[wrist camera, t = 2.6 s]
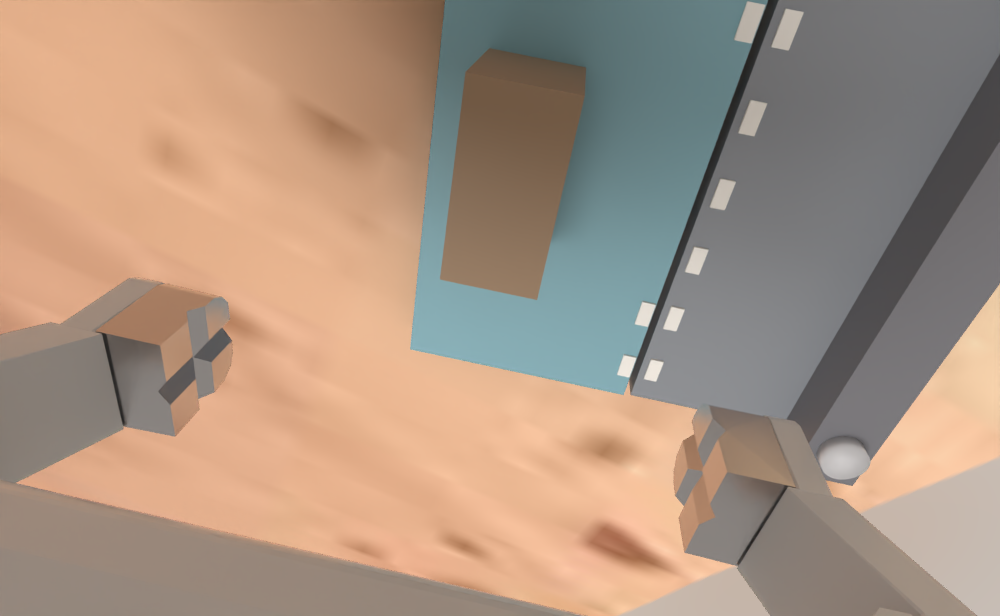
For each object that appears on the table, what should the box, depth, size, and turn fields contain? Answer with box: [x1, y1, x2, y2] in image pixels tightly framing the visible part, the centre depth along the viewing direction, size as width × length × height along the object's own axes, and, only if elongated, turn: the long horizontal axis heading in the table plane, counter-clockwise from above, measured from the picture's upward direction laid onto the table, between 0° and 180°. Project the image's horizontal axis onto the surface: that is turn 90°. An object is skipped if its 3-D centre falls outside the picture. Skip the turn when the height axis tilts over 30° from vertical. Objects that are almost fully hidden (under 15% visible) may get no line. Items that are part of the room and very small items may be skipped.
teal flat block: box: [410, 0, 768, 395], centre depth 18 cm, size 18×9×5 cm, turn 171°
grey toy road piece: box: [629, 0, 1000, 486], centre depth 19 cm, size 19×10×4 cm, turn 171°
